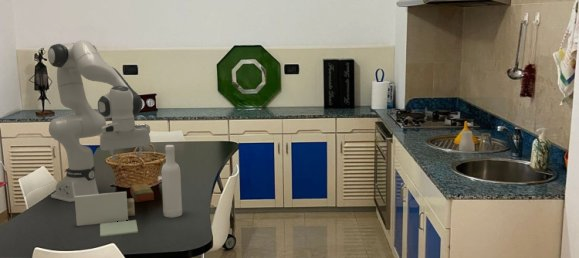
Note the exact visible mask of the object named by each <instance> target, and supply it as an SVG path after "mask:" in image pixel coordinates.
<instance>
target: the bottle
mask: <svg viewBox="0 0 579 258" xmlns="http://www.w3.org/2000/svg"><path fill="white" fill-rule="evenodd" d="M175 150H176V148H175V145H173V144H166V145H165V146H164V151H165V163H163V165H162V167H161V171H160V172H161V186H162V187H161V189H162V190H161V191H162V192H161V193H162V212H163V216H164V217H166V218H172V219H173V218H178V217H180V216H182V215H183V201H182V199H183V197H182V181H181V180H182V179H181V178H182V176H181V168H180V165H179V164H178V163H177V162H176V159H175V157H176V156H175V154H176V153H175Z"/></svg>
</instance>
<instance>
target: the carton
mask: <svg viewBox="0 0 579 258" xmlns="http://www.w3.org/2000/svg"><path fill="white" fill-rule="evenodd" d="M129 188H130V189H129V190H130V195H131V197H132V198H133V199H134V202H135V203H140V202H146V201H147V202H148V201H154V200H155V196H154V194H155V193H154V191H153V189H152V188H151V187H150V186H149V185H148V184H147V183H141V184H134V185H133V184H132V185H130V186H129Z"/></svg>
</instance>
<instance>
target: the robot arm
mask: <svg viewBox="0 0 579 258" xmlns="http://www.w3.org/2000/svg"><path fill="white" fill-rule="evenodd" d="M47 59H48V62H49V64H50V65H51V66H52V67H54V68H56V82H57V88H58V94H59V99H60V103H61V105H62V106H63V107H65V108H67V109H69V110H72V111H73V112H74V113H75V114H74V115H73V114H72V115H64V116H60V117H56V118H53V119H51V120H50V122H49V125H48V132H49V135H50V137H51V138H53V139H54V140H55V141H57V142H58V143H60V144H61V145H62V147H63V148H64V149H65V150H64V151H65V152H66V156H67V163H68V165H67V166H68V168H66V169H64V173H66V175H65V176H64V177H62V179H61V180H59V181H58V182H57V183H56V184H55V191H54V192H53V193H51V195H50V198H51V199H57V200H61V201H64V202H68V203H71V202H72V203H73V202H75V196H82V195H93V194H100V192H99V188H98V185H97V182H96V167H95V165H94V164H95V163H94V157H93V156H94V154H93V153H94V152H93V150H92V149H91V148H90V147H89V146H86V145H84V144H82V143H80V139H84V138H85V139H86V138H92V137H93V138H94V137H97V136H99V135H100V138H99V148H100V150H101V151H109V153H110V154H111V156H112V159H113V161H117V160H118V156H117V155H116V154H114V150H121V149H123V150H124V149H129V148H138V149H139V150H138V152H136V154H135V155H136V158H140V159H141V156H142V155H141V154H142V151H143V147H149V146H150V145H151V143H152V142H151V136H150V133H151V128H150V125H148V124H146V123H141V124H140V123H139V124H138V123H137V124H135V123H136V122H135V116H137V115H138V114H139V113H140V112H141V110H142V108H143V100H142V98H141V96H140V94H138V93H137V91H135V90H134V89H133V88H132V87H131V86H130V85H129V84H128V82H127V81H126V80H125V77H123V75H122V74H121V73H120V72H119V71H118V70H117V69H116V68H114V67H113V66H111V65H110V64H109V63H107V62H106V61H105V60H104V59H103V58H102V56H101V54H100V53H99V52H98V49H97V47H96V46H95V45H94V44H92V43H91V42H90V41H88V40H86V39H83V40H82V39H81V40H78V41H76V42H71V43H56V44H55V43H54V44H52V45H51V46H50V47H49V48H48V51H47ZM82 77H84V79H86V80H88V81H92V82H99V83H105V84H108V85H110V86H112V87H110V91H109V92H108V93H107V94H105V95H102V96H101V97H99V99H98V101H97V109H98V112H97V111H96V110H94V108H93V107H92V106H91V104H90V103H89V102H88V100H87V97H86V92H85V87H84V83H83V78H82ZM106 118H112V119H111V121H112V122H110V123H107V121H106Z"/></svg>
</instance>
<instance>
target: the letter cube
mask: <svg viewBox="0 0 579 258" xmlns="http://www.w3.org/2000/svg"><path fill="white" fill-rule="evenodd" d="M127 209H128V217H133V216H136V213H135V212H136V211H135V209H136V208H135V199H134V198H133V197H132V198H131V197H130V198H127Z"/></svg>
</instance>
